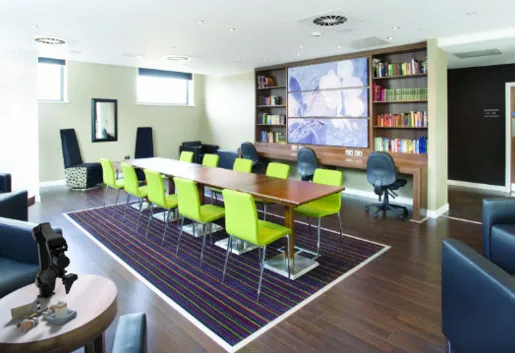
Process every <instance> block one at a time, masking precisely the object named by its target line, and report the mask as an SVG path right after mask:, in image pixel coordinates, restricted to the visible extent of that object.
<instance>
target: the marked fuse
mask: <svg viewBox="0 0 515 353" xmlns="http://www.w3.org/2000/svg"><path fill="white" fill-rule="evenodd" d="M54 304H55V313H56V319H60V320H61V319H63V318H64V317H66V316H68V311H67V309H68V303H67V301H64V300H61V299H60V300H58V301H57V302H55V303H54Z"/></svg>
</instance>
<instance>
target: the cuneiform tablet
mask: <svg viewBox="0 0 515 353" xmlns="http://www.w3.org/2000/svg"><path fill="white" fill-rule="evenodd" d="M36 310H37V312H39V311H41V310H42V308H41V301H40V300H38V301H36ZM33 314H34V307H33V303H32V302H31V303H26V304H23V305H19V306H16V307H13V308H10V315H11V316H10V317H11V319H12V321H13V322H14V321H16V320H17V321H18V320H20V319H23V318H28V317H29V316H31V315H33Z"/></svg>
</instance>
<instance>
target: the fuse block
mask: <svg viewBox="0 0 515 353" xmlns="http://www.w3.org/2000/svg"><path fill="white" fill-rule="evenodd" d="M49 307H50V306H49ZM49 307H48V306H45V308H42V309H41V311H39V312H38V311H37V312H35V313H34V312H33V315H31V316H27V317H25V319H28V320H31V325H32V327H35V326H36V325H38V324H40V320H39V316H42V318H45V319H47V317H49V316H50V315H52V314H53V312H52V310H49ZM25 319H23V320H25ZM23 320H21V321H19V322H17V323H16V327H17V328H21V325H20V322H22V321H23ZM35 323H36V324H35Z"/></svg>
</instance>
